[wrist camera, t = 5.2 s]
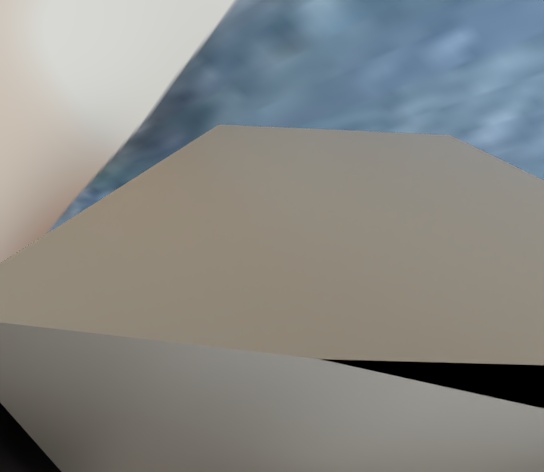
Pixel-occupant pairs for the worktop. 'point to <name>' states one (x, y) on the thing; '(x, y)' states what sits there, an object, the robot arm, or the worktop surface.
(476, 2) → the worktop surface
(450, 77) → the worktop surface
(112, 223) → the chalk-white cube
